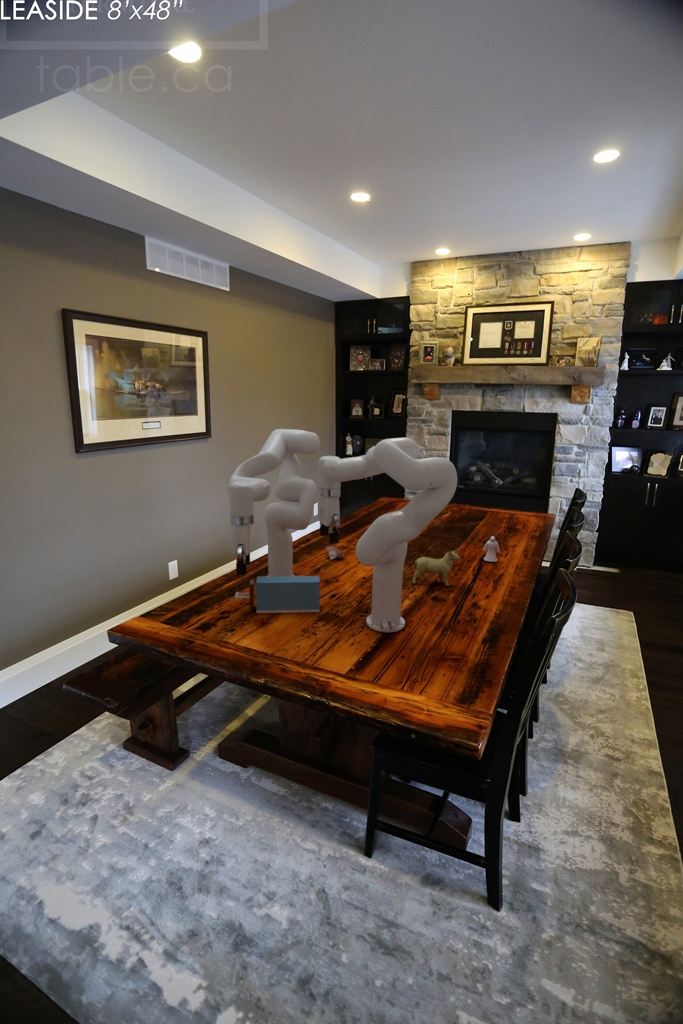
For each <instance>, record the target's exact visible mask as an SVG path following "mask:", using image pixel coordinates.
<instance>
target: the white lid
mask: <svg viewBox="0 0 683 1024" xmlns="http://www.w3.org/2000/svg"><path fill="white" fill-rule="evenodd" d="M325 551H326V552H327V553H328V556H329V560H331V561H333V560H335V559H336V558H343V553H342V551H341V550H340V549H338V548H337V547H335V546H329V545H328V546H326V547H325Z"/></svg>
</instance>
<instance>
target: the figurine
mask: <svg viewBox="0 0 683 1024" xmlns="http://www.w3.org/2000/svg"><path fill="white" fill-rule="evenodd" d="M482 551H483V552H486V554H485V556H484V557H483V560H484V561H485V562H495V563H498V558H497V554H496V553H498V554H499V553H501V550H500V547H499V543H498V541H497V540H496V538H495V536H493V535H492V536H490V539H489V540H487V542H486V543H485V544H484V546H483V548H482Z"/></svg>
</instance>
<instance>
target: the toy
mask: <svg viewBox="0 0 683 1024" xmlns="http://www.w3.org/2000/svg"><path fill="white" fill-rule="evenodd" d="M457 552H459V549H455V550H452V551H447V552H446V553H445V554H444V556H443V557H442V558H433V557H428V556H421V557H418V558H417V559H416V560H415V567H416V571H414V572H413V577H412V582H411V583H412V584H413V585H417V581H416V580H417V578H418V576H419V575H420V576H421V577H422V578H423V580H424V581H427V580H428V577H427V575H426V574H425V573H428V574H431V575H437V577H436V580H435V581H436V582H437V583H441V580H440V579H441V577H442V578H443V580H444V584H445V587H448V588H449V587H451V585H450V583H449V582H448V575H449V574H450V572H451V571H452V568H453V566H454V561H460V560H461V556H459V555H458V554H457Z"/></svg>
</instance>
